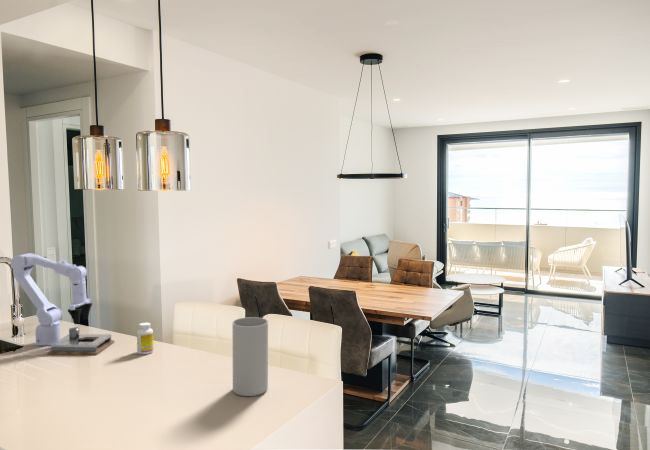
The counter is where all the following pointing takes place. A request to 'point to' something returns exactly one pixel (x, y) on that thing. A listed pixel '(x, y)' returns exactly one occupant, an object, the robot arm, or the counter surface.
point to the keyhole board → (100, 349)
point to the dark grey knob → (74, 334)
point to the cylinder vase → (250, 356)
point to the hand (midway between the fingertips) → (81, 321)
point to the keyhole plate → (80, 343)
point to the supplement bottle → (144, 339)
